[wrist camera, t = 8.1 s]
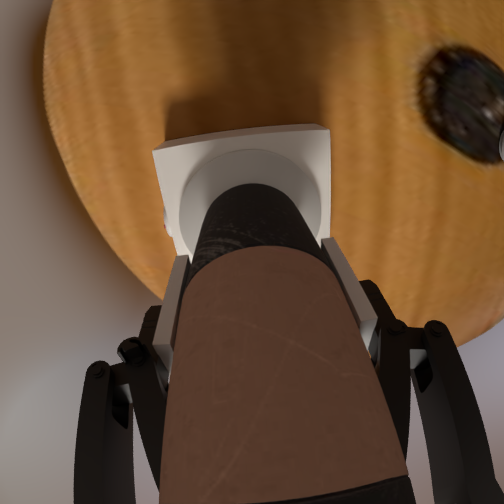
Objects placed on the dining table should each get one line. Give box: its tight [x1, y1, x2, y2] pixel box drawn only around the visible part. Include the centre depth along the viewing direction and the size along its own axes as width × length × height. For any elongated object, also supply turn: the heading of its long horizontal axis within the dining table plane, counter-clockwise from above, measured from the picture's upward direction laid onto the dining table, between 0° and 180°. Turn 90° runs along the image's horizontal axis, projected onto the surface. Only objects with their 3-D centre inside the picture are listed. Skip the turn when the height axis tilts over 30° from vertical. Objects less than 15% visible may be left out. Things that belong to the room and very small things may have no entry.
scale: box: [152, 123, 331, 263], centre depth 23 cm, size 13×14×5 cm
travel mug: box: [159, 183, 416, 504], centre depth 12 cm, size 8×8×20 cm
